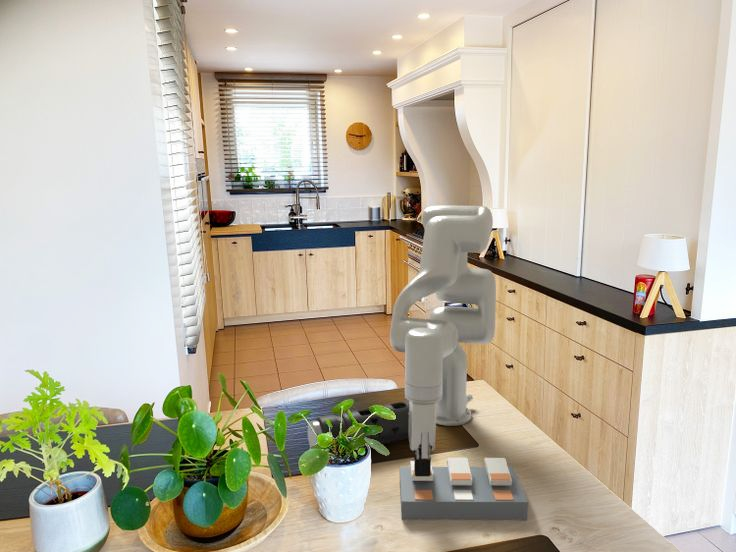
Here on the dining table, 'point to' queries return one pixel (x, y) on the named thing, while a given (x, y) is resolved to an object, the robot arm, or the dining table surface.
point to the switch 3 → (497, 471)
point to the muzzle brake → (391, 428)
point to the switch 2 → (459, 471)
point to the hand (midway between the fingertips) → (422, 473)
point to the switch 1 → (420, 478)
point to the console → (461, 497)
